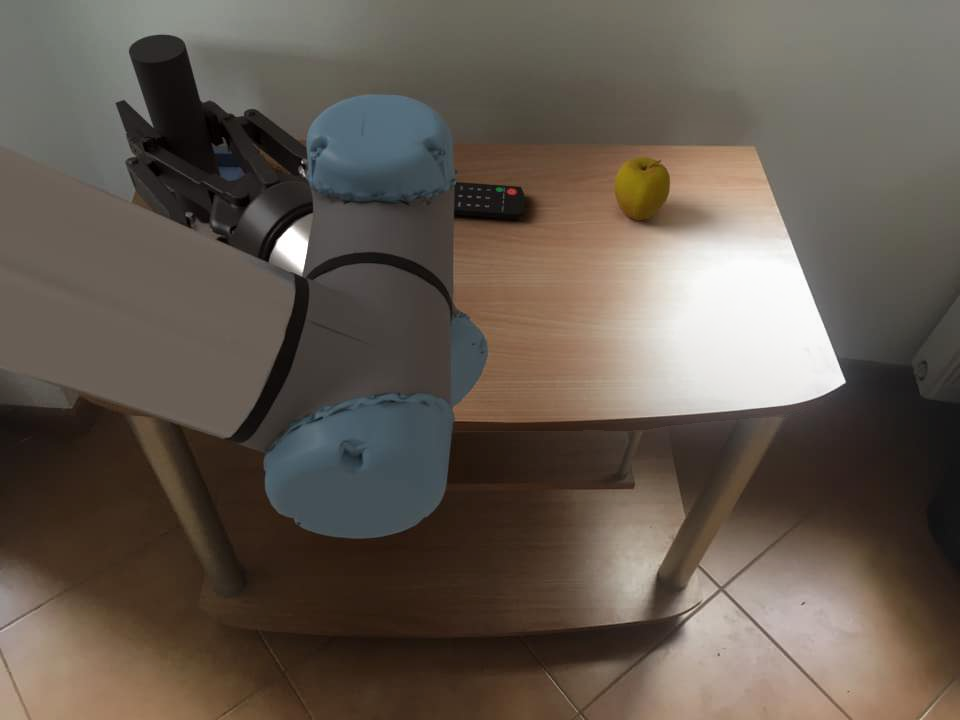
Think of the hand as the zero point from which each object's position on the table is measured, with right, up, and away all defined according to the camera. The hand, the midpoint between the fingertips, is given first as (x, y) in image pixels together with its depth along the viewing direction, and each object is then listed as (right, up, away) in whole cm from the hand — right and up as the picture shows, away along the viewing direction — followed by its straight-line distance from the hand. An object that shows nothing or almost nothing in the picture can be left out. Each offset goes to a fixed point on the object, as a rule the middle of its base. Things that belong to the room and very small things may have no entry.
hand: (151, 106), depth 66 cm
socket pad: (-4, 0, +31) cm, 31 cm away
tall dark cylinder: (+3, -9, +4) cm, 10 cm away
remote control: (+21, -2, +31) cm, 37 cm away
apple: (+47, -3, +31) cm, 56 cm away
